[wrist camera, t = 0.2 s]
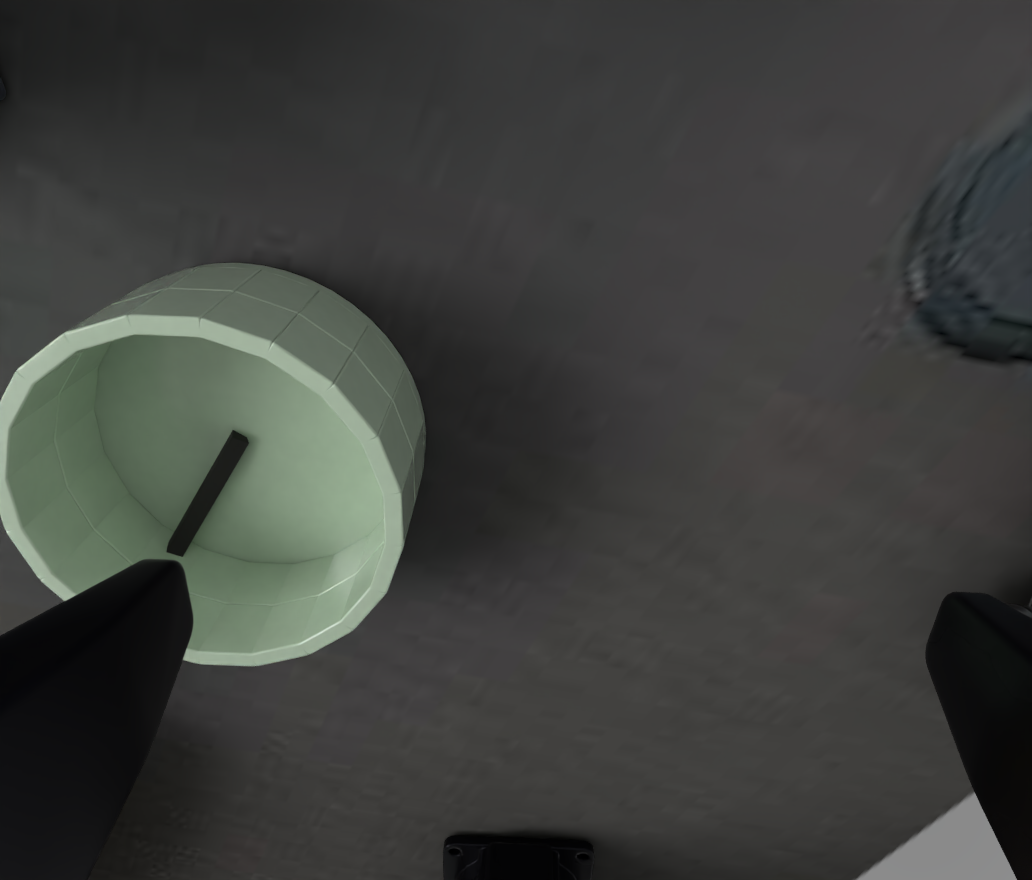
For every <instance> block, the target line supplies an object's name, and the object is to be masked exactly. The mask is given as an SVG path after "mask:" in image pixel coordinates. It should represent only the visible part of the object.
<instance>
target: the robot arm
mask: <svg viewBox="0 0 1032 880" xmlns="http://www.w3.org/2000/svg"><path fill="white" fill-rule="evenodd" d="M193 623H194V617H193V610H192V605H191V600H190V595H189V590H188V585H187V579H186V574H185V570H184V568H183V566H182V564H181V563H180V562H178V561H177V560H169V559H143V560H141V561H138V562H137V563H135V564H133V565H131V566H129V567H127V568H125V569H124V570H122V571H120V572H118V573H116V574H114V575H112V576H111V577H109V578H107V579H105V580H103V581H101V582H99V583H98V584H96V585H94V586H92V587H90V588H88V589H86V590H85V591H83V592H81V593H79V594H77V595H75V596H73V597H72V598H70V599H68V600H66V601H64V602H62V603H60V604H59V605H57V606H55V607H53V608H51V609H49V610H47V611H46V612H44V613H42V614H40V615H38V616H36V617H34V618H32V619H31V620H29V621H27V622H25V623H23V624H21V625H19V626H18V627H16V628H14V629H12V630H10V631H8V632H6V633H5V634H3V635H1V636H0V880H87V879H88V877H89V875H90V873H91V871H92V869H93V867H94V865H95V863H96V861H97V859H98V857H99V855H100V853H101V851H102V849H103V847H104V845H105V843H106V840H107V838H108V836H109V834H110V832H111V830H112V828H113V826H114V824H115V822H116V820H117V818H118V816H119V814H120V812H121V810H122V808H123V806H124V804H125V802H126V800H127V797H128V795H129V793H130V791H131V789H132V787H133V785H134V783H135V781H136V779H137V777H138V775H139V773H140V771H141V769H142V766H143V764H144V762H145V760H146V758H147V755H148V753H149V751H150V748H151V746H152V743H153V741H154V738H155V735H156V733H157V730H158V727H159V724H160V722H161V719H162V716H163V713H164V711H165V708H166V705H167V702H168V699H169V697H170V694H171V691H172V688H173V685H174V683H175V680H176V677H177V674H178V671H179V669H180V666H181V663H182V660H183V658H184V655H185V652H186V649H187V646H188V644H189V641H190V638H191V635H192V630H193ZM925 653H926V663H927V667H928V670H929V673H930V675H931V678H932V681H933V684H934V686H935V689H936V692H937V694H938V697H939V700H940V703H941V705H942V708H943V711H944V713H945V716H946V719H947V722H948V724H949V727H950V730H951V732H952V735H953V738H954V741H955V743H956V746H957V749H958V751H959V754H960V757H961V760H962V762H963V765H964V768H965V770H966V772H967V775H968V777H969V780H970V782H971V785H972V787H973V789H974V792H975V794H976V796H977V798H978V800H979V802H980V805H981V807H982V809H983V811H984V813H985V815H986V817H987V819H988V821H989V823H990V825H991V827H992V829H993V831H994V833H995V835H996V838H997V840H998V842H999V844H1000V845H1001V848H1002V850H1003V852H1004V854H1005V856H1006V858H1007V860H1008V862H1009V864H1010V866H1011V868H1012V870H1013V872H1014V874H1015V876H1016V878H1017V880H1032V618H1030V617H1029V616H1027V615H1025V614H1023V613H1021V612H1019V611H1018V610H1016V609H1014V608H1012V607H1010V606H1009V605H1007V604H1005V603H1003V602H1001V601H1000V600H998V599H996V598H994V597H992V596H990V595H988V594H984V593H970V592H952V593H950V594H948V595H947V596H946V597H945V598H944V599H943V601H942V603H941V606H940V609H939V611H938V614H937V617H936V620H935V622H934V625H933V628H932V631H931V633H930V636H929V639H928V642H927V645H926V652H925ZM593 864H594V848H593V845H592V844H591V843H589V842H586V841H573V840H548V839H523V838H498V837H473V836H451V837H448V838H447V839H446V840H445V842H444V849H443V871H444V880H591V879H592V871H593Z"/></svg>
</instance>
